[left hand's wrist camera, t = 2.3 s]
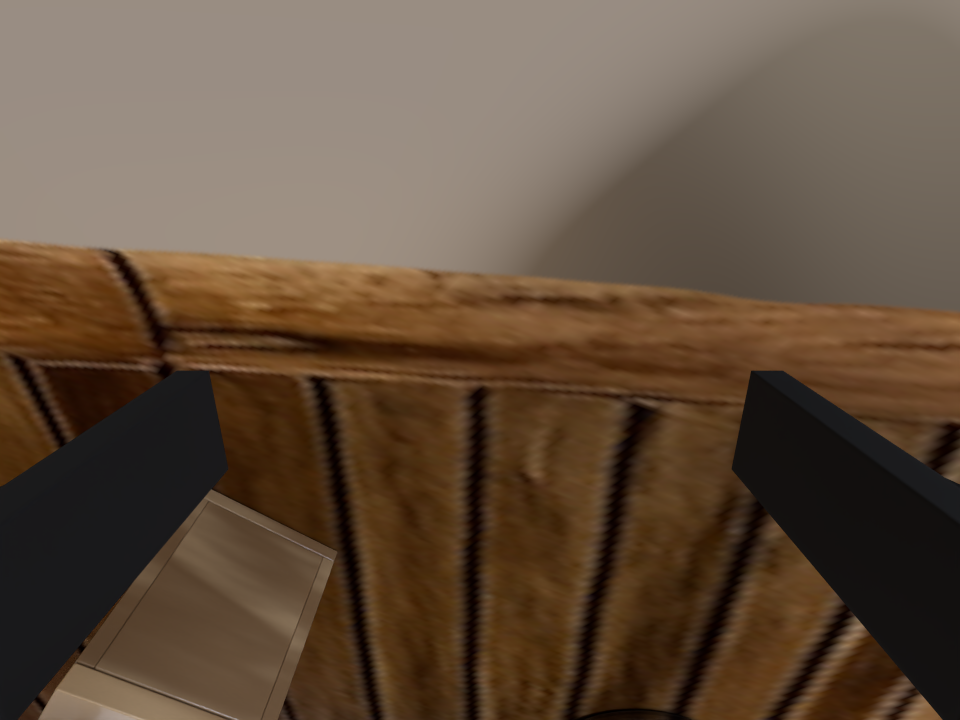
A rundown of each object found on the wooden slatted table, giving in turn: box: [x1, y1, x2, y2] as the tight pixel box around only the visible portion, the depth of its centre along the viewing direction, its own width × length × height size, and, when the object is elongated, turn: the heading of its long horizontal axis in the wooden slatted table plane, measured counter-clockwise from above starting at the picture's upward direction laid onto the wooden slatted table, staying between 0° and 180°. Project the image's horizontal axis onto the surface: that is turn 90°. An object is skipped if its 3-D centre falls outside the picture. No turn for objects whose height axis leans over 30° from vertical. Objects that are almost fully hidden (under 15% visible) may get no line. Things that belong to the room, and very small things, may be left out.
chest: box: [75, 489, 337, 720], centre depth 32 cm, size 13×10×11 cm
